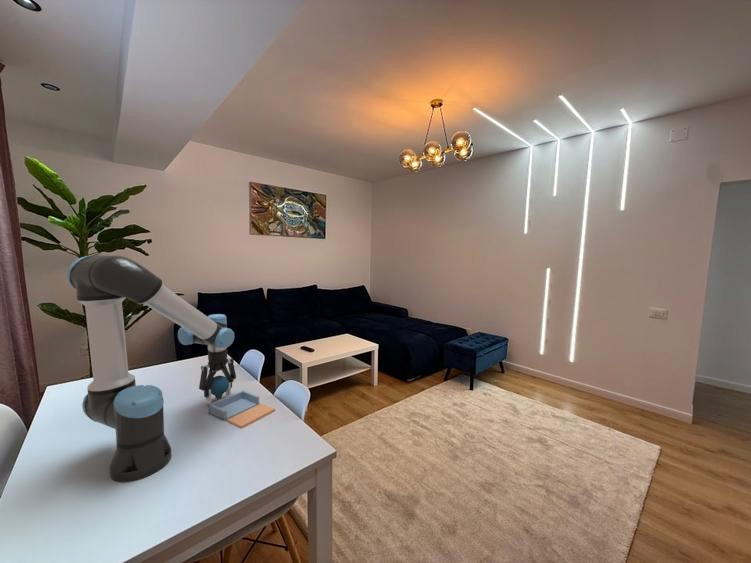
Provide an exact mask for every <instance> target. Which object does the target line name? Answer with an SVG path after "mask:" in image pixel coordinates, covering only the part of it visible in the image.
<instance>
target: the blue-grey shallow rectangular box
mask: <svg viewBox="0 0 751 563" xmlns="http://www.w3.org/2000/svg"><path fill="white" fill-rule="evenodd" d="M258 404H260V396H259V395H256V394H253V393H251V392H249V391H246V390H241V391H238V392H236V393H233V394H231V396H226V397H224V398H221V400H219V401H217V400H216V401H214V402H211V404H208V413H209V414H211V415H213V416H214V417H216V418H219V419H220V420H223V421H225V422H226V420H227V419H229V418H231V417H233V416H235V415H237V414H240V413H242V412H244V411H246V410H248V409H250V408H252V407H254V406H256V405H258Z"/></svg>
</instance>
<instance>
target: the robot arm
mask: <svg viewBox="0 0 751 563" xmlns="http://www.w3.org/2000/svg"><path fill="white" fill-rule="evenodd" d="M66 277H67V279H66V280H67V281H68V283H69V284H70V285H71V287H72V288H73V289H75V291H76V301H77V302H78V303H80V304H82V305H83V306H84V308H85V309H84V310H85V316H86V317H85V318H86V319H85V320H86V324H87V325H86V326H87V335H88V336H87V337H88V344H89V352H90V353H89V355H90V361H91V370H92V381H91V382H90V383H89V384H88V386H87V389H86V390H87V394H86V395H85V396H84V397H83V400H82V404H81V405H82V406H81V407H82V411H83V413H84V414H85V416H86V417H88V418H89V420H91V421H93V422H95V423H98V424H100V425H101V424H102V425H104V426H106V427H109V428H112V429H114V430H115V437H116V438H115V441H116V447H115V451H114V454H113V457H112V460H111V463H110V466H109V477H110V479H111V480H114V481H115V482H132V481H137V480H139V479H144V478H146V477H148V476H151V475H153V474H155V473H157V472H158V471H160V470H161V469H162V468H164V467H165V466H166V465H167V464H168V463H169V462H170V461H171V459H172V456H173V455H172V453H173V452H172V446H171V444H170V443H169V441H168V438H167V437H166V435H165V423H164V422H165V420H164V418H165V417H164V415H165V414H164V403H165V400H164V396H163V391H162V390H161V389H160V387H157V386H155V385H152V384H145V385H144V384H141V385H140V384H139V385H138V384H136V377H135V375H134V374H131V373H130V372H129V363H128V355H127V344H126V343H127V342H126V332H125V323H124V312H123V311H124V310H123V302H124V300H126V299H128V300H129V301H132V302H134V303H135V304H137V305H143V304H144V305H146V306H147V307H149V308H151V309H152V310H153V311H155V312H157V313H159V314H161V315H162V316H163V317H165V318H166V319H169V320H170V321H171V322H173V323H175V324H177V325H178V326H179V327H180V328H179V329H178V332H177V338H178V339H177V340H178V341H179V343H180V344H181V345H183V346H188V345H192V344H200V345H206V346H207V350H208V352H207V359H208V362H207V364H206V365H201V367H200V369H201V374H200V380H199V385H198V386H199V387H198V390H200V391H203V397H204V398H205V403H206V404H207V405H209V404H211V403H212V394H211V389H209V388H210V385H211V383H212V380H213V377H215V376H216V374H217V372H220V371H222V374H223V375H224V377H226V378H227V379H228V381H229V387H228V389H227V391H226V392H225V396H226V397H228V396H231V395H232V388H233V383H234V380H236V379H237V375H236V370H235V369H236V368H235V364H234V362H235V360H234V358H231V357H229V358H228V349H227V348H228V347H230V346H231V345H232V344H233V342H234V340H235V332H234V331H233V330H232V329H231V328H228V323H227V322H228V321H227V315H226V314H222V313H216V314H209V315H206V314H204V313H203V312H202V311H200V310H199V309H197V308H196V307H195V306H193V305H192V304H190V303H189V302H188V301H186V300H185V299H183V298H182V297H180V296H179V295H177V294H176V293H175V292H174V291H172V290H170V289H169V288H168V287H166V286H165V285H164V281H163V279H161V278H160V277H158V276H157V275H156V274H154V273H153V272H152V271H150V270H149V269H148V268H146V267H145V266H143V265H142V264H140V263H138V262H137V261H135V260H133V259H131V258H128V257H126V256H123V255H106V254H105V255H104V254H92V255H86V256H82V257H80V258H78V259H75V261H74V262H72V263H71V264H70V266H69V268H68V269H67V272H66ZM227 365H228V367H227Z"/></svg>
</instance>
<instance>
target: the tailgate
mask: <svg viewBox="0 0 751 563" xmlns="http://www.w3.org/2000/svg"><path fill="white" fill-rule="evenodd" d="M275 412H276V408H274V407H272V406H269V405H266V404H263V403H259V404H258V405H256V406H254V407H252V408H250V409H248V410H246V411H244V412H242V413H239V414H237V415H235V416H233V417H231V418H229V419H227V420H225V422H227V423H229V424H231V425H233V426H234V427H238V428H240V429H245V428H246V427H247V426H250V425H252V424H253V423H255V422H257V421H259V420H261V419H263V418H265V417H267V416H269V415H271V414H272V413H275Z"/></svg>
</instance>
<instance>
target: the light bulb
mask: <svg viewBox="0 0 751 563" xmlns="http://www.w3.org/2000/svg"><path fill="white" fill-rule="evenodd" d="M228 387H229V381H228V379H227V378H226V377H225V375H224V376H223V375H214V377H213V380H212V383H211V385H210V388H209V389H211V396H214V397H215V399H216V401H219V400H221V399H222V398H223V394H226V391H227V389H228Z"/></svg>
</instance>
